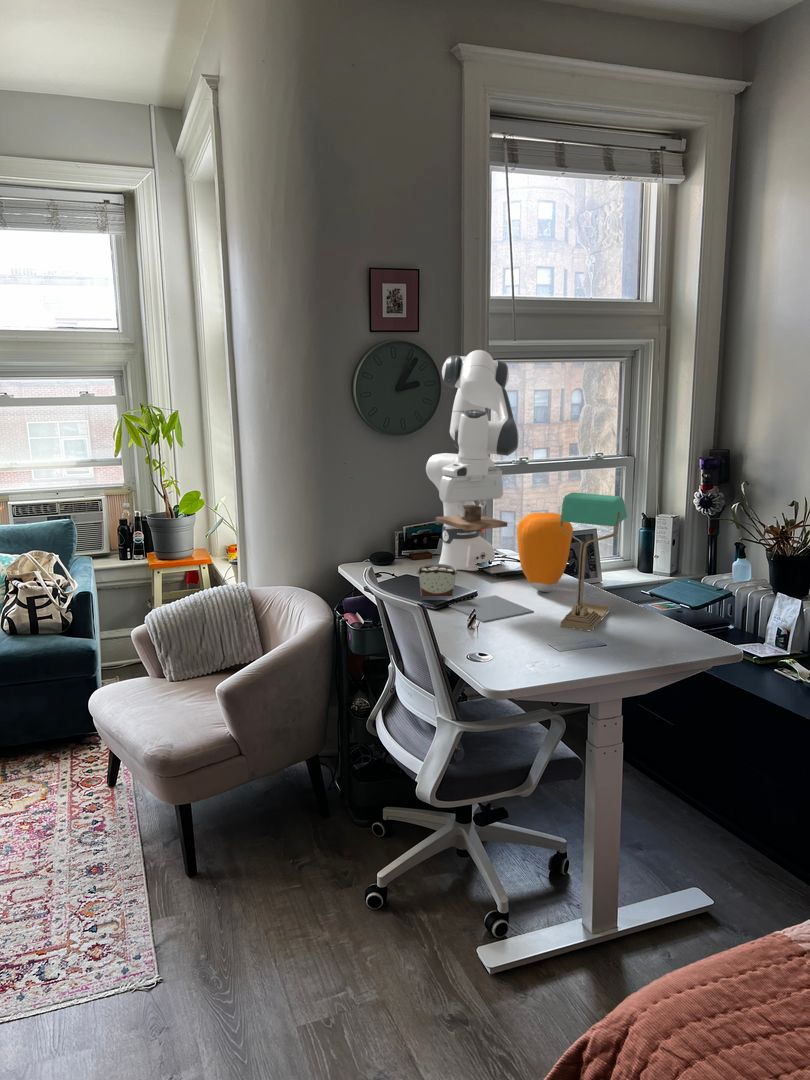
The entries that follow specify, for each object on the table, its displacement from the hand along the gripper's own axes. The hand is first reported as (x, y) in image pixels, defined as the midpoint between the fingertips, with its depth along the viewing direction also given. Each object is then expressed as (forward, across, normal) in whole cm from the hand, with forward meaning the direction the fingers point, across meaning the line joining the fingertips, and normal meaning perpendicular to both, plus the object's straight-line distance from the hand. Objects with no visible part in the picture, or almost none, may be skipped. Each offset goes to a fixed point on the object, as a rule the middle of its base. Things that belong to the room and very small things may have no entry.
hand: (471, 515), depth 235 cm
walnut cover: (+2, 0, 0) cm, 2 cm away
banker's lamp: (+27, -22, +27) cm, 44 cm away
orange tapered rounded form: (+27, -28, 0) cm, 39 cm away
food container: (+27, +4, -11) cm, 29 cm away
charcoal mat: (+27, -3, +6) cm, 28 cm away
